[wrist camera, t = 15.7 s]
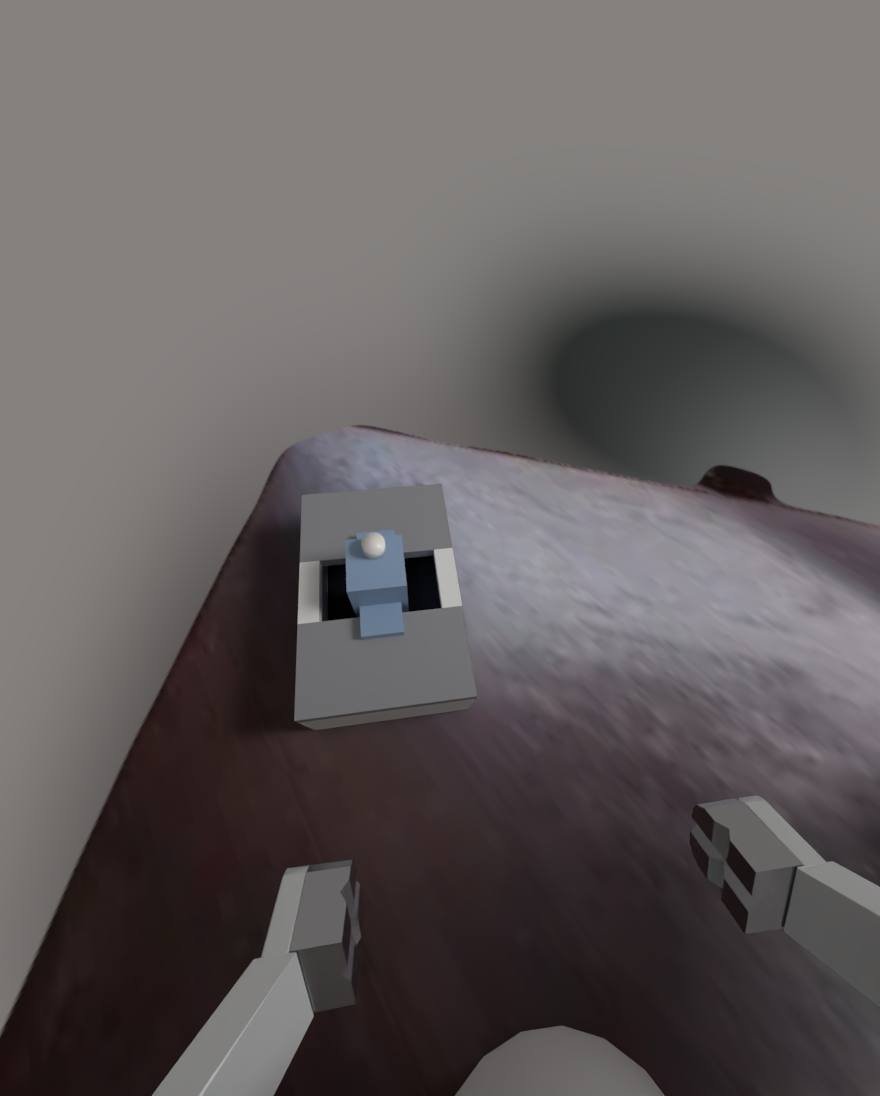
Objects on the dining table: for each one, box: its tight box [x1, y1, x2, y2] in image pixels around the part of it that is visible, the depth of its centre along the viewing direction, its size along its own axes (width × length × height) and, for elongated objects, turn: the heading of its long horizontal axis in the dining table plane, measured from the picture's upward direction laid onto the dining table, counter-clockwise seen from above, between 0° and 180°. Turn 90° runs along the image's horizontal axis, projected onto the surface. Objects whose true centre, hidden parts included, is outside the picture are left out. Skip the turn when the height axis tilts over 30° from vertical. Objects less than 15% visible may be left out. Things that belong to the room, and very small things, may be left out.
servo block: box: [345, 529, 409, 640], centre depth 31 cm, size 4×8×9 cm, turn 8°
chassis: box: [294, 484, 477, 730], centre depth 34 cm, size 12×18×6 cm, turn 8°
